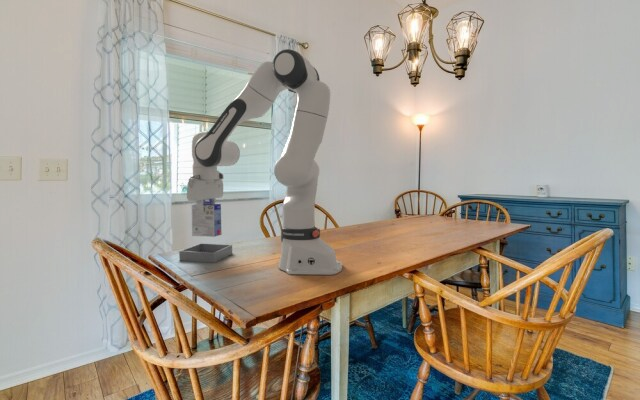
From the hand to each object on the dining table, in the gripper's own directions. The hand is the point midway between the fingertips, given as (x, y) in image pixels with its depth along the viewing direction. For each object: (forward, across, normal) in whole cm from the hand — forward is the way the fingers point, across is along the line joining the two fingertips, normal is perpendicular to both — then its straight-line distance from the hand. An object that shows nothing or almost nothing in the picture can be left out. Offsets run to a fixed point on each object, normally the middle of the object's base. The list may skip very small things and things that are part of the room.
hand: (206, 211), depth 129 cm
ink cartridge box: (+10, 0, 0) cm, 10 cm away
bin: (+18, 0, +1) cm, 18 cm away
